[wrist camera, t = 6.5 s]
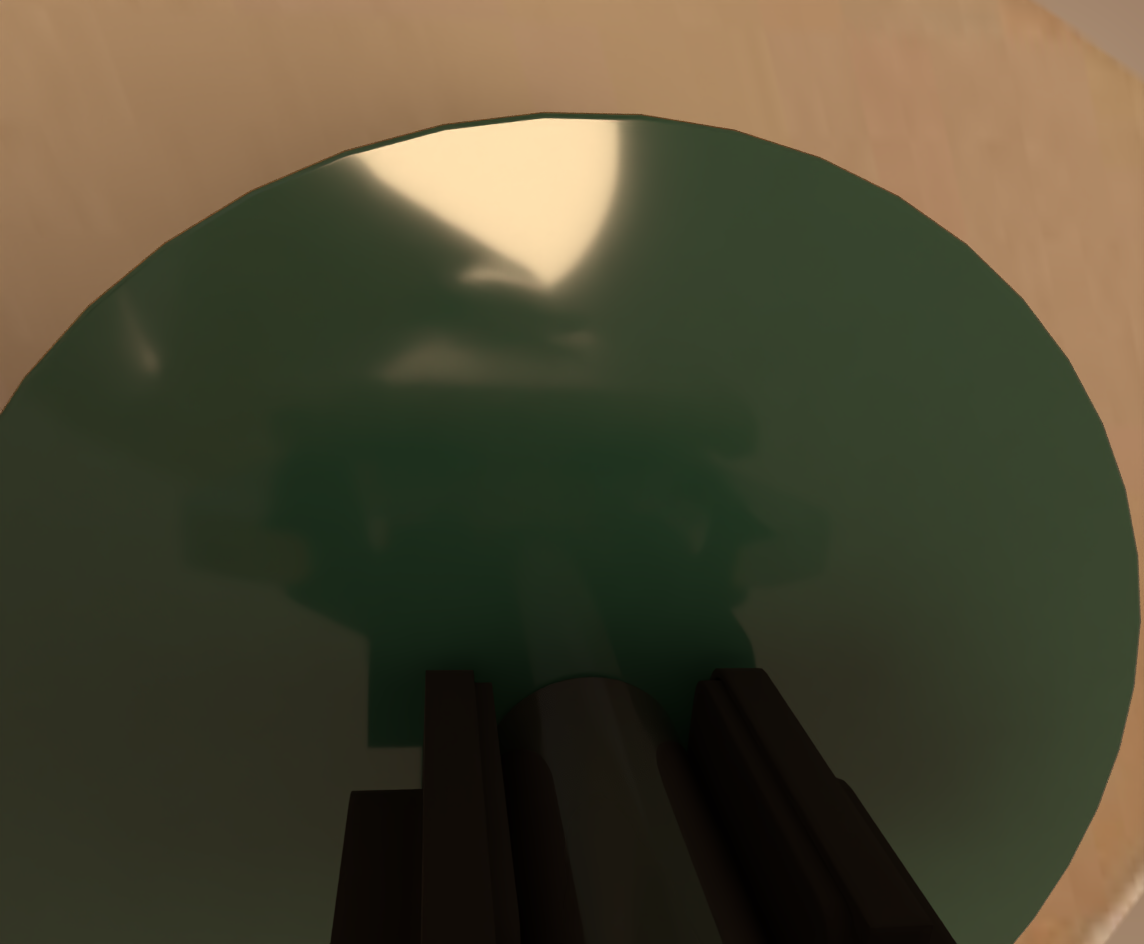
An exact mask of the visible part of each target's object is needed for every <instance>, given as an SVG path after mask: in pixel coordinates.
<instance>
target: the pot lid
mask: <svg viewBox="0 0 1144 944" xmlns="http://www.w3.org/2000/svg"><path fill="white" fill-rule="evenodd" d="M1140 624H1141V615H1140V590H1139V565H1138V552H1137V547H1136V542H1135V536H1134V531H1133V526H1132V520H1131V515H1130V509H1129V504H1128V499H1127V493H1126V489H1125V486H1124V483H1123V480H1122V477H1121V474H1120V471H1119V468H1118V466H1117V463H1116V460H1115V457H1114V454H1113V451H1112V448H1111V445H1110V443H1109V440H1108V437H1107V434H1106V431H1105V428H1104V425H1103V423H1102V421H1101V419H1100V417H1099V415H1098V413H1097V412H1096V410H1095V408H1094V406H1093V404H1092V402H1091V400H1090V398H1089V397H1088V395H1087V393H1086V391H1085V389H1084V387H1083V385H1082V383H1081V381H1080V380H1079V378H1078V376H1077V374H1076V372H1075V370H1074V368H1073V366H1072V365H1071V363H1070V361H1069V359H1068V358H1067V356H1066V355H1065V354H1064V352H1063V351H1062V350H1061V348H1060V347H1059V346H1058V344H1057V343H1056V342H1055V340H1054V339H1053V338H1052V336H1051V335H1050V334H1049V332H1048V331H1047V330H1046V328H1045V327H1044V326H1043V325H1042V323H1041V322H1040V321H1039V319H1038V318H1037V317H1036V315H1035V314H1034V313H1033V311H1032V310H1031V309H1030V307H1029V306H1028V305H1027V303H1026V302H1025V301H1024V299H1023V298H1022V297H1021V296H1020V295H1019V294H1018V293H1017V292H1016V291H1015V290H1014V289H1013V288H1012V287H1011V286H1010V285H1009V284H1008V283H1006V282H1005V281H1004V280H1003V279H1002V278H1001V277H1000V276H999V275H998V274H997V273H996V272H995V271H994V270H993V269H992V268H991V267H990V266H989V265H988V264H987V263H986V262H985V261H984V260H983V259H982V258H981V257H980V256H979V255H978V254H976V253H975V252H974V251H973V250H972V249H971V248H970V247H969V246H968V245H967V244H966V243H965V242H963V241H962V240H960V239H959V238H958V237H956V236H955V235H953V234H952V233H951V232H949V231H948V230H946V229H945V228H943V227H942V226H941V225H939V224H938V223H936V222H935V221H933V220H932V219H931V218H929V217H928V216H926V215H925V214H924V213H922V212H921V211H919V210H918V209H916V208H915V207H914V206H912V205H911V204H909V203H908V202H906V201H905V200H904V199H902V198H901V197H899V196H898V195H896V194H894V193H892V192H890V191H888V190H886V189H884V188H882V187H880V186H878V185H875V184H873V183H871V182H869V181H867V180H865V179H863V178H861V177H859V176H857V175H855V174H853V173H851V172H849V171H847V170H845V169H843V168H841V167H839V166H837V165H835V164H833V163H831V162H829V161H827V160H825V159H823V158H821V157H818V156H815V155H812V154H809V153H806V152H802V151H799V150H796V149H793V148H790V147H787V146H784V145H781V144H778V143H774V142H771V141H768V140H765V139H762V138H759V137H756V136H753V135H750V134H746V133H743V132H740V131H737V130H734V129H728V128H722V127H715V126H709V125H703V124H697V123H691V122H685V121H679V120H673V119H667V118H661V117H655V116H649V115H643V114H612V113H564V112H539V113H531V114H523V115H514V116H506V117H498V118H490V119H481V120H473V121H465V122H456V123H448V124H442V125H438V126H434V127H430V128H427V129H423V130H419V131H415V132H412V133H408V134H404V135H400V136H397V137H393V138H389V139H386V140H382V141H378V142H374V143H371V144H367V145H363V146H359V147H356V148H352V149H348V150H344V151H342V152H340V153H337V154H335V155H333V156H330V157H328V158H326V159H323V160H321V161H319V162H316V163H314V164H311V165H309V166H307V167H304V168H302V169H300V170H297V171H295V172H293V173H290V174H288V175H286V176H283V177H281V178H279V179H276V180H274V181H272V182H269V183H267V184H264V185H262V186H260V187H257V188H255V189H253V190H250V191H249V192H247V193H245V194H244V195H242V196H241V197H239V198H237V199H236V200H234V201H232V202H231V203H229V204H227V205H226V206H224V207H222V208H221V209H219V210H217V211H216V212H214V213H212V214H211V215H209V216H208V217H206V218H204V219H203V220H201V221H199V222H198V223H196V224H194V225H193V226H191V227H189V228H188V229H186V230H184V231H183V232H181V233H179V234H178V235H176V236H175V237H173V238H171V239H170V240H168V241H166V242H165V243H163V244H162V245H161V246H160V247H158V248H157V249H156V250H155V251H154V252H152V253H151V254H150V255H149V256H148V257H146V258H145V259H144V260H143V261H142V262H140V263H139V264H138V265H137V266H135V267H134V268H133V269H132V270H131V271H129V272H128V273H127V274H126V275H125V276H123V277H122V278H121V279H120V280H119V281H117V282H116V283H115V284H114V285H112V286H111V287H110V288H109V289H108V290H106V291H105V292H104V293H103V294H102V295H100V296H99V297H98V298H97V299H96V300H94V301H93V302H92V303H91V304H89V305H88V306H87V307H86V308H85V310H84V311H83V312H82V313H81V314H80V315H79V316H78V317H77V319H76V320H75V321H74V322H73V323H72V324H71V325H70V326H69V327H68V329H67V330H66V331H65V332H64V333H63V334H62V335H61V336H60V338H59V339H58V340H57V341H56V342H55V343H54V344H53V345H52V346H51V348H50V349H49V350H48V351H47V352H46V353H45V354H44V355H43V357H42V358H41V359H40V360H39V361H38V362H37V363H36V364H35V365H34V367H33V368H32V369H31V370H30V371H29V372H28V373H27V374H26V376H25V377H24V378H23V379H22V381H21V383H20V384H19V386H18V387H17V389H16V390H15V392H14V393H13V395H12V396H11V398H10V400H9V401H8V403H7V404H6V406H5V407H4V409H3V410H2V412H1V413H0V944H330V941H331V933H332V926H333V918H334V911H335V903H336V896H337V888H338V881H339V873H340V865H341V858H342V850H343V843H344V835H345V828H346V820H347V813H348V805H349V799H350V794H351V791H364V790H400V789H422V770H423V738H424V705H425V675H426V670H473V672H474V683H490V682H491V683H492V687H493V696H494V705H495V713H496V722H497V730H498V739H499V748H500V756H501V765H502V773H503V782H504V790H505V799H506V808H507V816H508V825H509V833H510V842H511V851H512V859H513V868H514V876H515V885H516V894H517V902H518V911H519V921H520V936H521V944H770V942H769V940H768V938H767V935H766V933H765V931H764V929H763V926H762V924H761V922H760V919H759V917H758V915H757V913H756V910H755V908H754V906H753V903H752V901H751V899H750V897H749V894H748V892H747V890H746V887H745V885H744V883H743V881H742V878H741V876H740V874H739V871H738V869H737V867H736V865H735V862H734V860H733V858H732V855H731V853H730V851H729V849H728V846H727V844H726V842H725V839H724V837H723V835H722V833H721V830H720V828H719V826H718V823H717V821H716V819H715V816H714V814H713V812H712V810H711V807H710V805H709V803H708V800H707V798H706V796H705V794H704V791H703V789H702V787H701V784H700V782H699V780H698V778H697V775H696V773H695V771H694V768H693V766H692V764H691V762H690V759H689V757H688V755H687V747H688V739H689V732H690V724H691V717H692V709H693V702H694V694H695V689H696V686H697V683H698V682H699V681H706V680H710V677H711V675H712V672H713V671H714V670H715V669H716V668H762V669H763V670H764V671H765V672H766V673H767V674H768V676H769V677H770V679H771V680H772V682H773V683H774V685H775V686H776V688H777V689H778V691H779V692H780V694H781V695H782V697H783V698H784V700H785V701H786V703H787V704H788V706H789V707H790V709H791V710H792V712H793V713H794V715H795V716H796V718H797V719H798V721H799V722H800V724H801V725H802V727H803V728H804V730H805V731H806V733H807V734H808V736H809V737H810V739H811V740H812V742H813V743H814V745H815V747H816V748H817V750H818V751H819V753H820V754H821V756H822V757H823V759H824V760H825V762H826V763H827V765H828V766H829V768H830V769H831V771H832V772H833V774H834V775H835V777H836V778H839V779H842V780H844V781H845V782H846V783H847V784H848V785H849V786H850V787H851V788H852V789H853V791H854V792H855V794H856V795H857V797H858V798H859V800H860V801H861V803H862V804H863V806H864V807H865V809H866V810H867V812H868V813H869V815H870V816H871V818H872V819H873V820H874V822H875V823H876V825H877V826H878V828H879V829H880V831H881V832H882V834H883V835H884V837H885V838H886V840H887V841H888V843H889V844H890V846H891V847H892V849H893V850H894V851H895V853H896V854H897V856H898V857H899V859H900V860H901V862H902V863H903V865H904V866H905V868H906V869H907V871H908V872H909V874H910V875H911V877H912V878H913V880H914V881H915V883H916V884H917V885H918V887H919V888H920V890H921V891H922V893H923V894H924V896H925V897H926V899H927V900H928V902H929V903H930V905H931V906H932V908H933V909H934V911H935V912H936V914H937V915H938V916H939V918H940V919H941V921H942V922H943V924H944V925H945V927H946V928H947V930H948V931H949V933H950V934H951V936H952V937H953V939H954V940H955V942H956V943H957V944H1014V943H1015V942H1016V940H1017V939H1018V938H1019V937H1020V936H1021V934H1022V933H1023V932H1024V931H1025V929H1026V928H1027V927H1028V926H1029V925H1030V923H1031V922H1032V921H1033V920H1034V918H1035V917H1036V915H1037V914H1038V912H1039V911H1040V909H1041V908H1042V906H1043V905H1044V903H1045V902H1046V900H1047V898H1048V897H1049V895H1050V894H1051V892H1052V891H1053V889H1054V888H1055V886H1056V885H1057V883H1058V882H1059V880H1060V879H1061V877H1062V876H1063V874H1064V873H1065V871H1066V869H1067V868H1068V866H1069V865H1070V863H1071V861H1072V859H1073V857H1074V855H1075V853H1076V851H1077V849H1078V847H1079V845H1080V843H1081V841H1082V839H1083V837H1084V835H1085V833H1086V831H1087V829H1088V827H1089V825H1090V823H1091V821H1092V819H1093V817H1094V815H1095V813H1096V811H1097V809H1098V807H1099V804H1100V802H1101V799H1102V796H1103V793H1104V791H1105V788H1106V785H1107V783H1108V780H1109V777H1110V774H1111V772H1112V769H1113V766H1114V763H1115V761H1116V758H1117V755H1118V753H1119V750H1120V746H1121V742H1122V738H1123V733H1124V729H1125V725H1126V720H1127V716H1128V712H1129V707H1130V703H1131V699H1132V695H1133V690H1134V686H1135V675H1136V665H1137V655H1138V645H1139V634H1140Z"/></svg>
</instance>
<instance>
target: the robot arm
mask: <svg viewBox="0 0 1144 944" xmlns="http://www.w3.org/2000/svg"><path fill="white" fill-rule="evenodd" d="M687 755H688V757H689V759H690V762H691V764H692V766H693V768H694V771H695V773H696V775H697V778H698V780H699V782H700V784H701V787H702V789H703V791H704V794H705V796H706V798H707V800H708V803H709V805H710V807H711V810H712V812H713V814H714V816H715V819H716V821H717V823H718V826H719V828H720V830H721V833H722V835H723V837H724V839H725V842H726V844H727V846H728V849H729V851H730V853H731V855H732V858H733V860H734V862H735V865H736V867H737V869H738V871H739V874H740V876H741V878H742V881H743V883H744V885H745V887H746V890H747V892H748V894H749V897H750V899H751V901H752V903H753V906H754V908H755V910H756V913H757V915H758V917H759V919H760V922H761V924H762V926H763V929H764V931H765V933H766V935H767V938H768V940H769V942H770V944H957V943H956V942H955V940H954V939H953V937H952V936H951V934H950V933H949V931H948V930H947V928H946V927H945V925H944V924H943V922H942V921H941V919H940V918H939V916H938V915H937V914H936V912H935V911H934V909H933V908H932V906H931V905H930V903H929V902H928V900H927V899H926V897H925V896H924V894H923V893H922V891H921V890H920V888H919V887H918V885H917V884H916V883H915V881H914V880H913V878H912V877H911V875H910V874H909V872H908V871H907V869H906V868H905V866H904V865H903V863H902V862H901V860H900V859H899V857H898V856H897V854H896V853H895V851H894V850H893V849H892V847H891V846H890V844H889V843H888V841H887V840H886V838H885V837H884V835H883V834H882V832H881V831H880V829H879V828H878V826H877V825H876V823H875V822H874V820H873V819H872V818H871V816H870V815H869V813H868V812H867V810H866V809H865V807H864V806H863V804H862V803H861V801H860V800H859V798H858V797H857V795H856V794H855V792H854V791H853V789H852V788H851V787H850V786H849V785H848V784H847V783H846V782H845V781H844V780H842V779H839V778H836V777H835V775H834V774H833V772H832V771H831V769H830V768H829V766H828V765H827V763H826V762H825V760H824V759H823V757H822V756H821V754H820V753H819V751H818V750H817V748H816V747H815V745H814V743H813V742H812V740H811V739H810V737H809V736H808V734H807V733H806V731H805V730H804V728H803V727H802V725H801V724H800V722H799V721H798V719H797V718H796V716H795V715H794V713H793V712H792V710H791V709H790V707H789V706H788V704H787V703H786V701H785V700H784V698H783V697H782V695H781V694H780V692H779V691H778V689H777V688H776V686H775V685H774V683H773V682H772V680H771V679H770V677H769V676H768V674H767V673H766V672H765V671H764V670H763V669H762V668H716V669H715V670H714V671H713V672H712V675H711V677H710V680H706V681H699V682H698V683H697V686H696V689H695V694H694V702H693V709H692V717H691V724H690V732H689V739H688V747H687ZM330 944H521V936H520V921H519V911H518V902H517V894H516V885H515V876H514V868H513V859H512V851H511V842H510V833H509V825H508V816H507V808H506V799H505V790H504V782H503V773H502V765H501V756H500V748H499V739H498V730H497V722H496V713H495V705H494V696H493V687H492V683H491V682H490V683H474V672H473V670H426V675H425V705H424V738H423V770H422V789H400V790H364V791H351V794H350V799H349V805H348V813H347V820H346V828H345V835H344V843H343V850H342V858H341V865H340V873H339V881H338V888H337V896H336V903H335V911H334V918H333V926H332V933H331V941H330Z"/></svg>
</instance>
